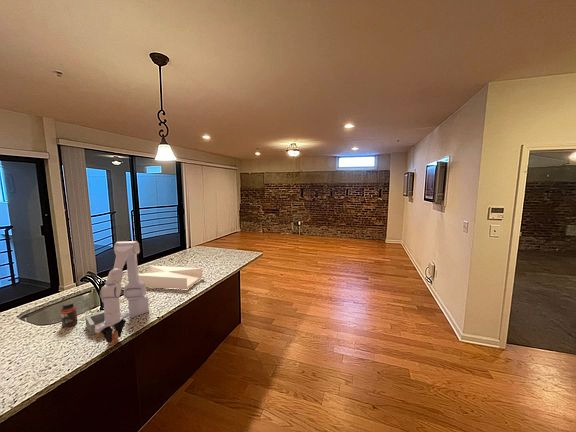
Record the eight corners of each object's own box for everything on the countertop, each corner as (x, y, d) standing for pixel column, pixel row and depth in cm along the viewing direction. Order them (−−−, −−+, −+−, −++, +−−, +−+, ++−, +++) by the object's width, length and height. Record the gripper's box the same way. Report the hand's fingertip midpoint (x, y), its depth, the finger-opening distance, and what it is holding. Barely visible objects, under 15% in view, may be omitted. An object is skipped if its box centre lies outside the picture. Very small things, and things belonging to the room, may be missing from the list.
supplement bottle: (76, 320, 130) (74, 299, 129) (78, 324, 127) (77, 303, 126) (61, 324, 126) (59, 303, 125) (63, 328, 122) (61, 307, 121)
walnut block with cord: (107, 329, 122) (106, 320, 121) (120, 340, 113) (120, 330, 112) (95, 334, 118) (94, 324, 117) (108, 346, 109) (107, 335, 108)
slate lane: (113, 317, 133) (112, 308, 133) (119, 325, 126) (118, 316, 125) (86, 326, 125) (85, 316, 124) (91, 335, 117) (90, 325, 116)
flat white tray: (202, 280, 192) (202, 268, 191) (187, 291, 170) (186, 278, 169) (150, 276, 198) (149, 265, 197) (129, 287, 176) (128, 274, 175)
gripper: (120, 302, 118) (122, 329, 119) (88, 317, 104) (90, 347, 105) (131, 304, 116) (133, 331, 117) (100, 319, 102) (103, 350, 103)
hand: (113, 339), depth 111 cm, fingers closed on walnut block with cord, 4 cm apart
